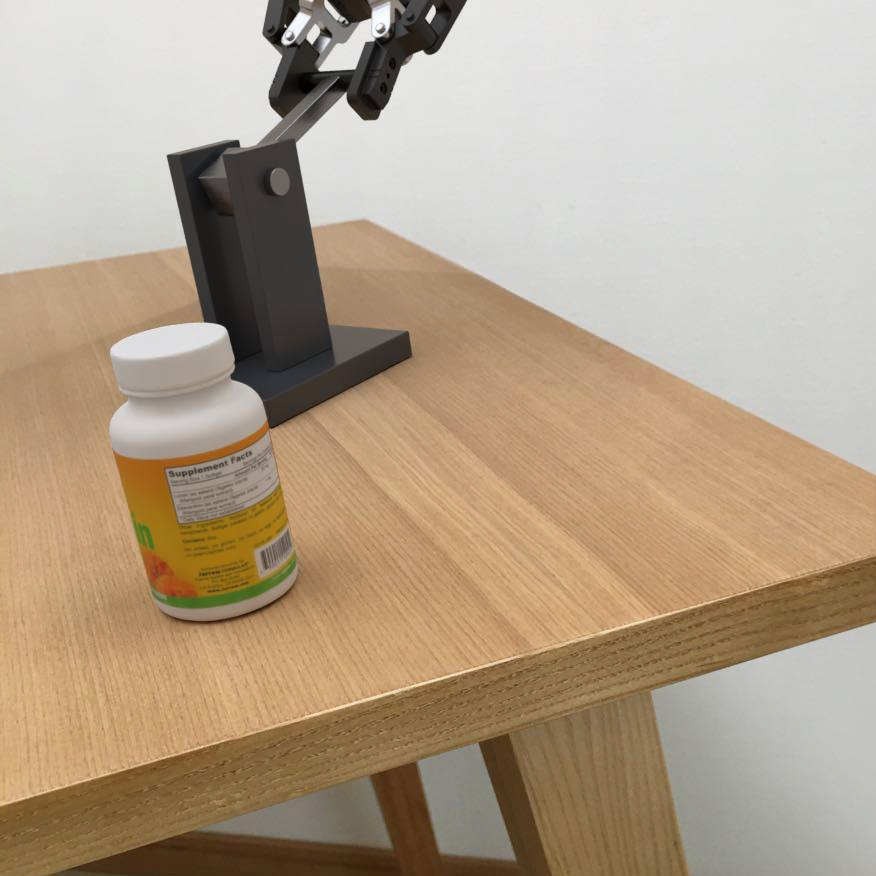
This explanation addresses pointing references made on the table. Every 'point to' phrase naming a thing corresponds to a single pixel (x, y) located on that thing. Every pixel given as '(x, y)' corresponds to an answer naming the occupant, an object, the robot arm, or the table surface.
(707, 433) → the table surface
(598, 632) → the table surface
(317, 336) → the bracket
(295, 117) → the press lever
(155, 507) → the supplement bottle
